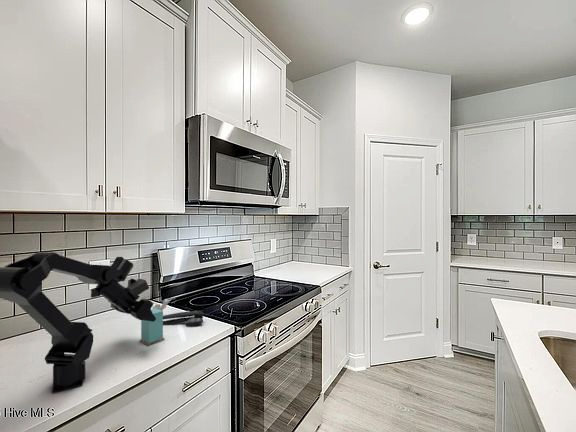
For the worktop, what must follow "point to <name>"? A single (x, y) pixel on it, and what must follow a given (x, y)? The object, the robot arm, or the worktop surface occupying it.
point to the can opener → (189, 320)
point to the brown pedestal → (150, 343)
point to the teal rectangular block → (152, 327)
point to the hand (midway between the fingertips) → (148, 317)
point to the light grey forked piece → (162, 305)
